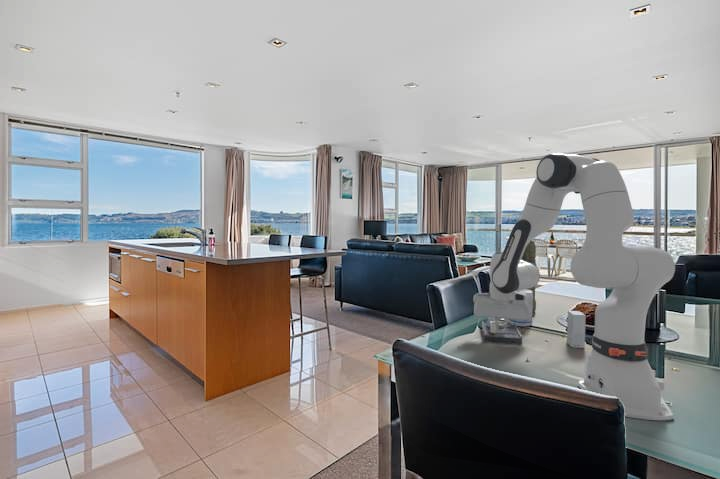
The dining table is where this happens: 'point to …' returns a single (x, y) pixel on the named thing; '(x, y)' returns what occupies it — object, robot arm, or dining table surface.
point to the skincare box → (576, 329)
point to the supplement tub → (530, 301)
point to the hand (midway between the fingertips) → (501, 329)
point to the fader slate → (489, 321)
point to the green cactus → (530, 258)
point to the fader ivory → (492, 326)
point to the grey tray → (502, 334)
